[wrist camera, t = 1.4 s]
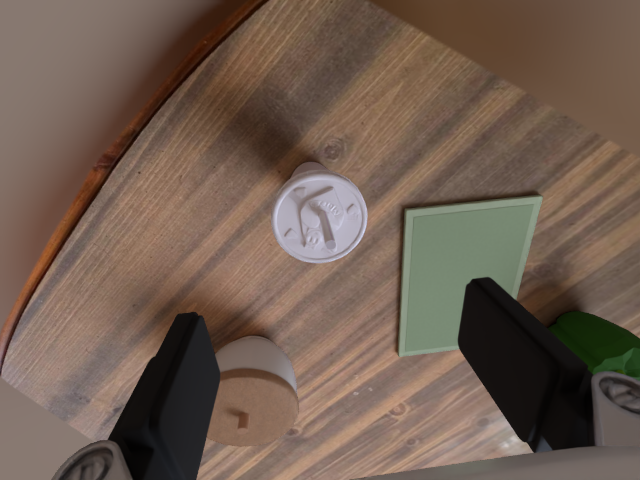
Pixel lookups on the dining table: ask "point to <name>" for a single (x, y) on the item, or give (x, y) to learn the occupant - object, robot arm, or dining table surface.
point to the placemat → (458, 263)
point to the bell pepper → (599, 343)
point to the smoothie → (318, 214)
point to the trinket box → (253, 393)
